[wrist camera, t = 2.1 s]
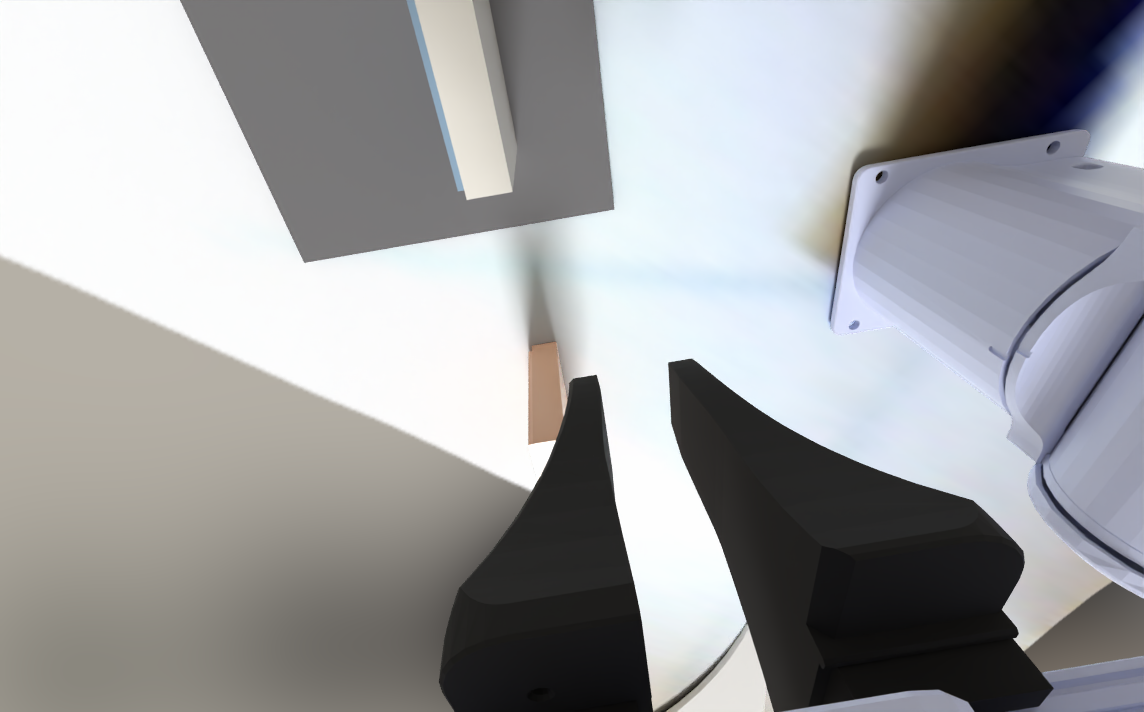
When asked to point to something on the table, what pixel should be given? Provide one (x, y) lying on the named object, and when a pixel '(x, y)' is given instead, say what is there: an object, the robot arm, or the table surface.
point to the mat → (403, 118)
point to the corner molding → (730, 683)
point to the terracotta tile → (544, 402)
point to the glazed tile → (468, 92)
